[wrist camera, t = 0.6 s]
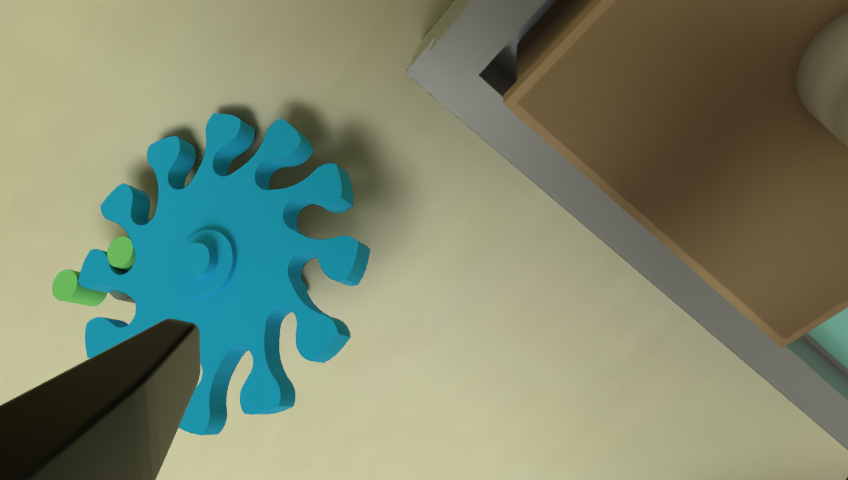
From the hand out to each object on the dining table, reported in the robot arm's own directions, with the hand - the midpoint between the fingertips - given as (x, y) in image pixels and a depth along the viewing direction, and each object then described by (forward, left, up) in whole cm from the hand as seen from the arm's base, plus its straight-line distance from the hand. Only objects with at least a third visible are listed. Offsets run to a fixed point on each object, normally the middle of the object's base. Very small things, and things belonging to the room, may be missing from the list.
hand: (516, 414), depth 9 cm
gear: (+4, +10, -14) cm, 17 cm away
